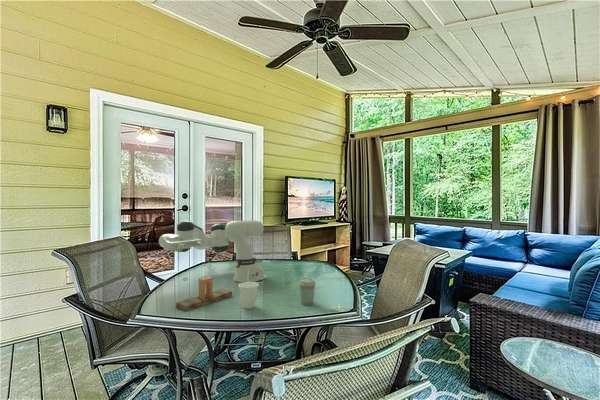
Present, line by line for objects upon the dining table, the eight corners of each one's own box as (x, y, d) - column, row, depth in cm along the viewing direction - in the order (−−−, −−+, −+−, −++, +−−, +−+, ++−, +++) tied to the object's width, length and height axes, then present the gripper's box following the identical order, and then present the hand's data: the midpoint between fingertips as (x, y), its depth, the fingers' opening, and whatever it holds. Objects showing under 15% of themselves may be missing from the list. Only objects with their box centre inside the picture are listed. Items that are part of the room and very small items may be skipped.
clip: (208, 299, 157) (208, 276, 157) (212, 300, 155) (212, 277, 155) (198, 302, 152) (198, 279, 152) (202, 303, 150) (203, 280, 150)
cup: (254, 311, 141) (254, 288, 141) (234, 309, 143) (235, 286, 143) (261, 304, 151) (261, 282, 151) (242, 302, 153) (243, 281, 152)
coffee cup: (310, 307, 146) (310, 283, 146) (295, 304, 150) (295, 280, 150) (318, 302, 153) (318, 279, 153) (304, 299, 158) (304, 277, 158)
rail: (222, 293, 167) (222, 288, 167) (231, 296, 162) (231, 291, 162) (176, 307, 145) (176, 302, 145) (185, 311, 140) (185, 306, 140)
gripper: (194, 246, 177) (208, 248, 169) (160, 250, 161) (174, 253, 153) (194, 235, 177) (208, 237, 169) (160, 239, 161) (174, 241, 153)
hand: (192, 245), depth 161 cm, fingers open, 8 cm apart
